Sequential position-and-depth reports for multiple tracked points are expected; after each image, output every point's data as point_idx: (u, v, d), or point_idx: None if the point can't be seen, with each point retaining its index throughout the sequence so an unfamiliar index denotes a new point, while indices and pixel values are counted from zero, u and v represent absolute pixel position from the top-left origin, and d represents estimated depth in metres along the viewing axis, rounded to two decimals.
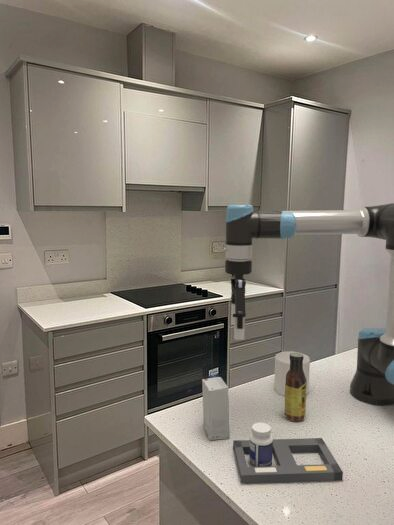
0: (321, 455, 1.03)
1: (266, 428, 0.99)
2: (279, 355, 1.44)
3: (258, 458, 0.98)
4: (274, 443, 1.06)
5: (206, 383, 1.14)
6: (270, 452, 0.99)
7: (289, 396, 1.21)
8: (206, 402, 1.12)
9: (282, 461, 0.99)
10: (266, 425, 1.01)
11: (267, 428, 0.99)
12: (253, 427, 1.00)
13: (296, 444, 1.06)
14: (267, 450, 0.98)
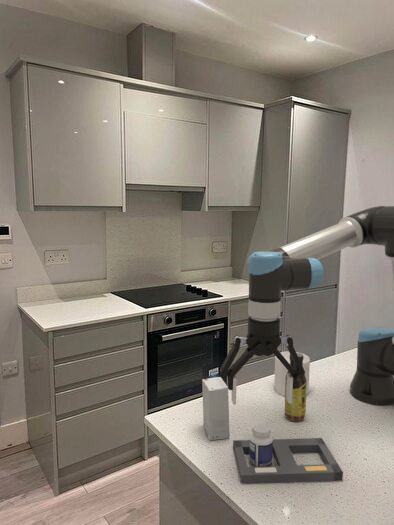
0: (321, 455, 1.03)
1: (266, 428, 0.99)
2: None
3: (258, 458, 0.98)
4: (274, 443, 1.06)
5: (206, 383, 1.14)
6: (270, 451, 0.99)
7: None
8: (206, 402, 1.12)
9: (282, 461, 0.99)
10: (266, 425, 1.01)
11: (267, 428, 0.99)
12: (253, 427, 1.00)
13: (296, 444, 1.06)
14: (267, 450, 0.98)
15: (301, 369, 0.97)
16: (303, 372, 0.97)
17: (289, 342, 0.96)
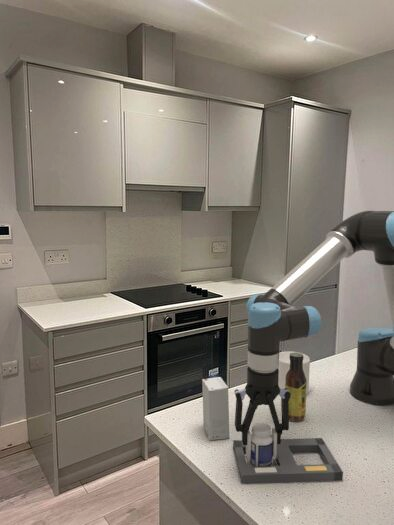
0: (321, 455, 1.03)
1: (266, 428, 0.99)
2: (279, 355, 1.44)
3: (258, 458, 0.98)
4: None
5: (206, 383, 1.14)
6: (270, 451, 0.99)
7: None
8: (206, 402, 1.12)
9: (282, 461, 0.99)
10: (266, 425, 1.01)
11: (267, 428, 0.99)
12: (253, 427, 1.00)
13: (296, 444, 1.06)
14: (267, 450, 0.98)
15: (286, 424, 0.99)
16: (287, 428, 0.99)
17: (286, 396, 0.98)
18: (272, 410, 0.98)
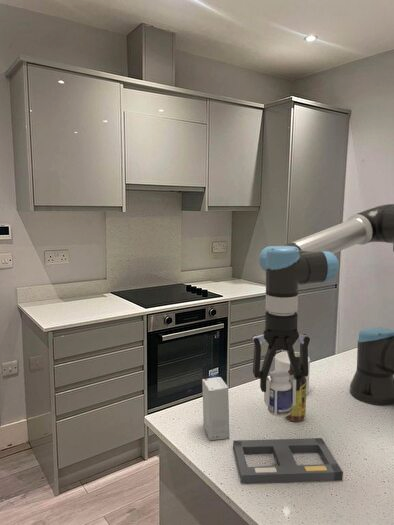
0: (321, 455, 1.03)
1: (284, 374, 0.98)
2: (279, 355, 1.44)
3: (277, 404, 0.97)
4: (274, 443, 1.06)
5: (206, 383, 1.14)
6: (289, 398, 0.97)
7: None
8: (206, 402, 1.12)
9: (282, 461, 0.99)
10: (285, 372, 0.99)
11: (286, 374, 0.98)
12: (271, 373, 0.98)
13: (296, 444, 1.06)
14: (286, 396, 0.96)
15: (305, 370, 0.97)
16: (306, 374, 0.97)
17: (305, 341, 0.96)
18: (291, 355, 0.96)
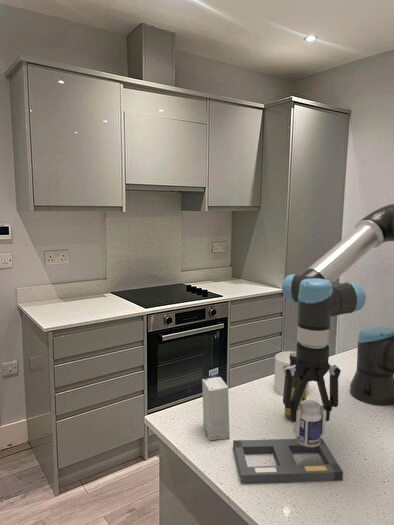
0: (321, 455, 1.03)
1: (315, 405, 0.99)
2: (279, 355, 1.44)
3: (308, 434, 0.98)
4: (274, 443, 1.06)
5: (206, 383, 1.14)
6: (320, 428, 0.98)
7: None
8: (206, 402, 1.12)
9: (282, 461, 0.99)
10: (314, 402, 1.00)
11: (316, 405, 0.99)
12: (302, 404, 1.00)
13: (296, 444, 1.06)
14: (316, 426, 0.98)
15: (335, 401, 0.99)
16: (336, 405, 0.99)
17: (336, 372, 0.97)
18: (322, 386, 0.98)
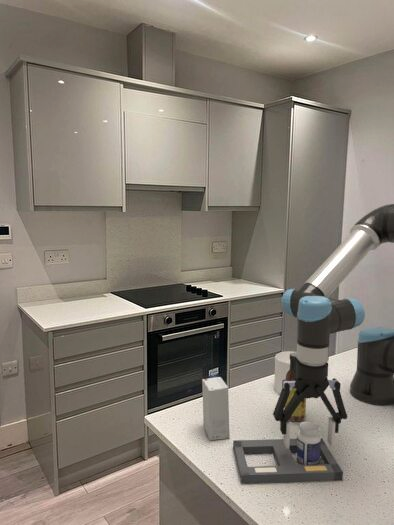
0: (321, 455, 1.03)
1: (314, 427, 1.00)
2: (279, 355, 1.44)
3: (307, 456, 0.99)
4: (274, 443, 1.06)
5: (206, 383, 1.14)
6: (319, 450, 0.99)
7: (289, 396, 1.21)
8: (206, 402, 1.12)
9: (282, 461, 0.99)
10: (313, 424, 1.01)
11: (315, 427, 1.00)
12: (301, 426, 1.00)
13: (296, 444, 1.06)
14: (316, 449, 0.99)
15: (343, 413, 0.99)
16: (345, 417, 0.99)
17: (336, 386, 0.98)
18: (325, 401, 0.98)
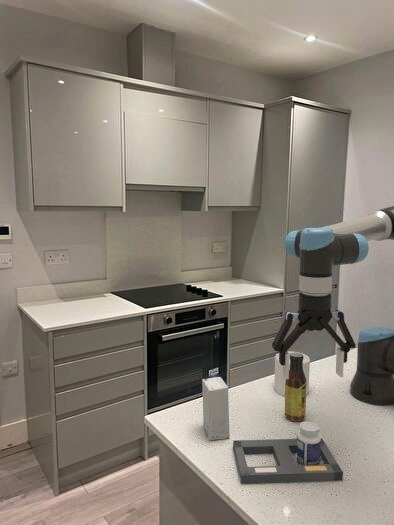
0: (321, 455, 1.03)
1: (314, 427, 1.00)
2: None
3: (307, 456, 0.99)
4: (274, 443, 1.06)
5: (206, 383, 1.14)
6: (319, 450, 0.99)
7: (289, 396, 1.21)
8: (206, 402, 1.12)
9: (282, 461, 0.99)
10: (314, 424, 1.01)
11: (316, 427, 1.00)
12: (301, 426, 1.00)
13: (296, 444, 1.06)
14: (316, 448, 0.99)
15: (351, 342, 0.99)
16: (354, 346, 0.99)
17: (340, 316, 0.97)
18: (331, 332, 0.98)
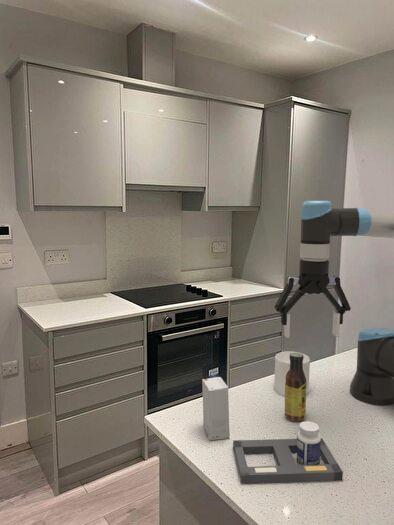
0: (321, 455, 1.03)
1: (314, 427, 1.00)
2: (279, 355, 1.44)
3: (307, 456, 0.99)
4: (274, 443, 1.06)
5: (206, 383, 1.14)
6: (319, 450, 0.99)
7: (289, 396, 1.21)
8: (206, 402, 1.12)
9: (282, 461, 0.99)
10: (313, 424, 1.01)
11: (315, 427, 1.00)
12: (301, 426, 1.00)
13: (296, 444, 1.06)
14: (316, 448, 0.99)
15: (347, 305, 1.09)
16: (349, 308, 1.09)
17: (337, 281, 1.08)
18: (328, 296, 1.08)
